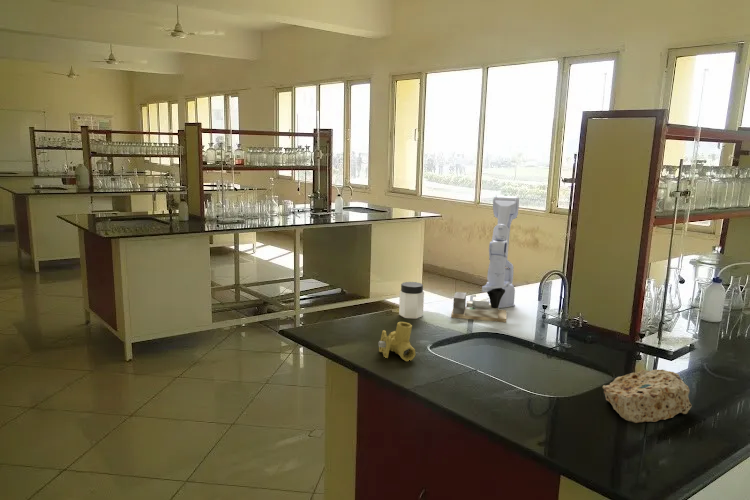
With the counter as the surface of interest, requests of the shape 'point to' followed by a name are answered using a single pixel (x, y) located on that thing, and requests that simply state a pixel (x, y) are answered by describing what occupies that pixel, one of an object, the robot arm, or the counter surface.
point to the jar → (411, 300)
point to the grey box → (480, 303)
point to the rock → (648, 395)
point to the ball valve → (398, 342)
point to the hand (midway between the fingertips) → (494, 307)
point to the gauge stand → (475, 310)
